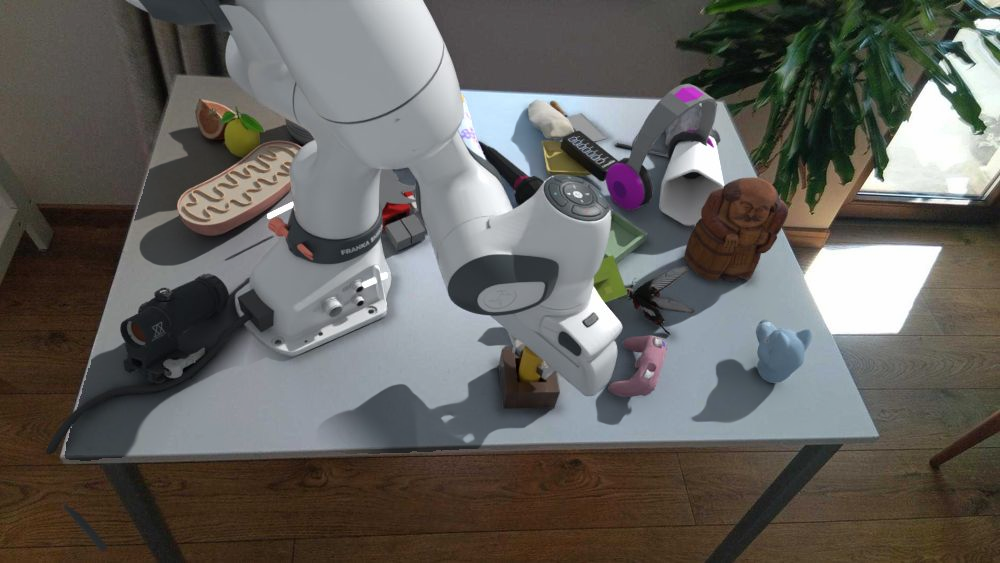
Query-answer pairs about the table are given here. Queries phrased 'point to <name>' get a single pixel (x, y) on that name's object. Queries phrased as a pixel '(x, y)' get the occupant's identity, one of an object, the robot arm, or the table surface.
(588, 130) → the cleaver
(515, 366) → the stand
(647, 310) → the butterfly
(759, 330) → the wolf head
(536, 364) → the peg
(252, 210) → the mitochondrion model
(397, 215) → the toy
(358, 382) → the table surface
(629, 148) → the machete
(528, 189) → the microphone
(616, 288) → the toy
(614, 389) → the video game controller
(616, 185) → the headphones
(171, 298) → the scope
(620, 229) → the dish
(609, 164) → the multiport hub
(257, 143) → the lemon
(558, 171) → the saucer
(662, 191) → the cup
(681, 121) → the stone
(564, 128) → the stone tool
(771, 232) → the wooden figurine
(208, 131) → the fruit slice
